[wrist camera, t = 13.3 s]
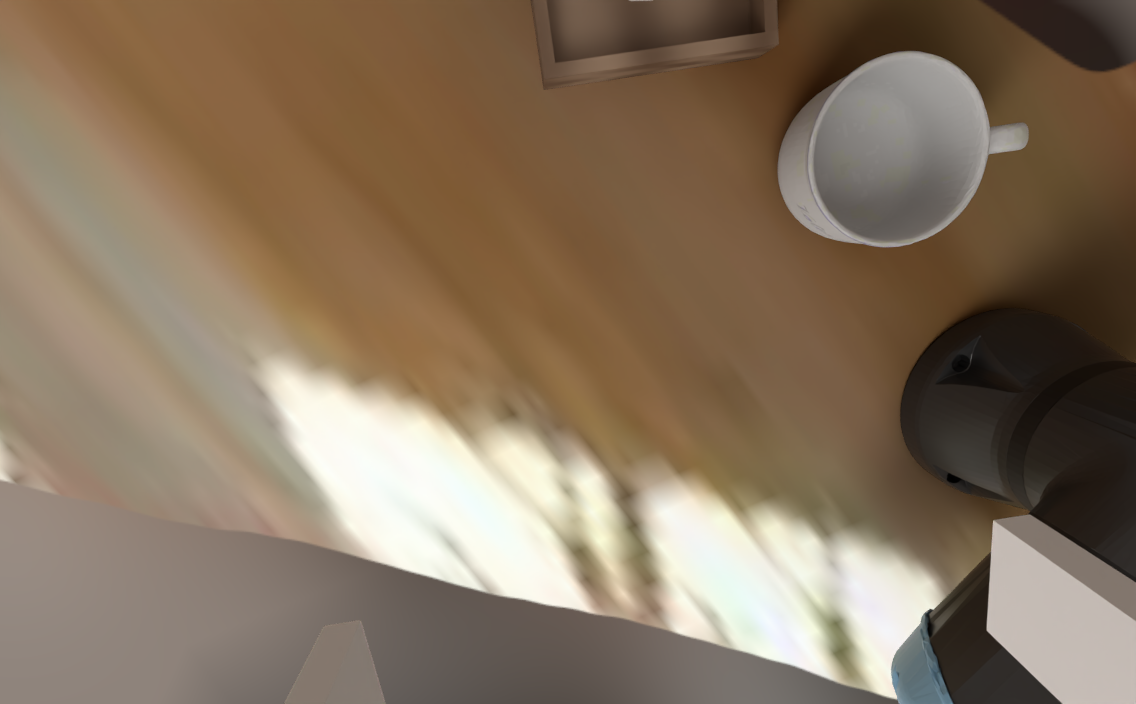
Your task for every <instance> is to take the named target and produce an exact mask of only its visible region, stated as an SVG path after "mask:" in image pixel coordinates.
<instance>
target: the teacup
mask: <svg viewBox="0 0 1136 704" xmlns="http://www.w3.org/2000/svg"><path fill="white" fill-rule="evenodd" d="M1027 141H1028V127H1027V125H1026V124H1025V123H1015V124H1007V125H1001V126H995V127H989V121H988V116H987V112H986V109H985V107H984V102H983V99H982V97H981V94H980V92H979V91H978V89H977V87H976V86H975V84H974V83H973V81H972V80H971V79H970V78H969V77H968V76H967V74H966V73H965V72H964V71H962V70H961V69H960V68H959V67H958V66H956V65H955V64H953V63H952V62H950V61H948V60H946V59H944V58H942V57H940V56H936V55H932V54H929V53H925V52H920V51H900V52H894V53H890V54H886V55H883V56H880V57H878V58H875V59H873V60H870V61H868V62H867V63H865V64H863V65H861V66H859V67H858V68H857V69H855V70H854V71H852V72H851V73H850V74H849V75H847V76H845V77H844V78H842V79H840V80H838V81H837V82H835V83H834V84H832V85H830V86H829V87H827V88H826V89H824V90H823V91H821V92H820V93H819V94H817V95H816V96H815V97H814V98H812V99H811V100H810V101H809V102H808V103H807V104H806V105H805V106H804V107H803V108H802V109H801V110H800V111H799V113H798V114H797V115H796V117H795V118H794V120H793V121H792V123H791V124H790V126H789V128H788V130H787V132H786V134H785V136H784V139H783V141H782V145H781V148H780V152H779V159H778V181H779V186H780V190H781V193H782V196H783V199H784V201H785V203H786V205H787V207H788V208H789V210H790V211H791V213H792V214H793V215H794V217H795V218H796V219H797V220H798V221H799V222H800V223H801V224H803V225H804V226H805V227H807V228H808V229H810V230H811V231H813V232H815V233H817V234H819V235H821V236H824V237H826V238H830V239H834V240H838V241H843V242H851V243H860V244H866V245H870V246H876V247H897V246H904V245H909V244H912V243H914V242H918V241H921V240H923V239H926V238H928V237H929V236H932V235H934V234H936V233H937V232H939V231H940V230H942V229H944V228H945V227H946V226H947V225H949V224H950V223H951V222H952V221H953V220H954V219H955V218H956V217H957V216H958V215H959V214H960V213H961V212H962V211H963V210H964V209H965V207H966V206H967V205H968V204H969V202H970V200H971V199H972V197H973V196H974V194H975V192H976V190H977V188H978V186H979V184H980V181H981V179H982V176H983V173H984V170H985V167H986V162H987V158H988V154H993V153H1000V152H1006V151H1014V150H1020V149H1022V148H1024V147H1025V146H1026V144H1027Z"/></svg>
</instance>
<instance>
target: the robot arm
mask: <svg viewBox="0 0 1136 704" xmlns="http://www.w3.org/2000/svg"><path fill="white" fill-rule="evenodd" d="M900 415H901V428H902V433H903V437H904V440H905V443H906V445H907V447H908V449H909V451H910V453H911V454H912V456H913V457H914V459H915V460H916V461H917V462H918V463H919V464H920V465H921V466H922V467H923V468H924V469H925V470H927V471H928V472H929V473H931V474H932V475H934V476H935V477H937V478H938V479H939V480H941V481H942V482H944V483H945V484H947V485H949V486H950V487H952V488H954V489H957V490H959V491H961V492H964V493H967V494H970V495H974V496H978V497H981V498H985V499H989V500H993V501H997V502H1000V503H1004V504H1008V505H1012V506H1016V507H1019V508H1023V509H1027V510H1029V511H1030V513H1029V514H1028V515H1023V516H1017V517H1010V518H1004V519H998V520H993V533H992V549H991V552H990V553H989V554H988V555H987V556H986V557H985V558H984V559H983V560H982V561H981V562H980V563H979V564H978V565H977V566H976V567H975V568H974V569H973V570H972V571H971V572H970V573H969V574H968V575H967V576H966V577H965V578H964V579H963V580H962V581H961V582H960V583H959V584H958V586H957V587H956V588H955V589H954V590H953V591H952V592H951V593H950V594H949V595H948V596H947V597H946V598H945V599H944V600H943V601H942V602H941V603H940V604H939V605H938V606H937V607H936V608H935V609H934V610H932V609H929V610H928V611H927V612H925V614H924V615H923V616H922V619H921V623H920V625H919V626H918V627H917V628H916V629H915V630H914V632H913V633H912V634H911V635H910V636H909V638H908V639H907V640H906V641H905V642H904V643H903V645H902V646H901V647H900V648H899V649H898V650H897V652H896V654H895V656H894V658H893V662H892V667H891V675H892V683H893V686H894V689H895V692H896V695H897V700H898V702H899V704H1136V363H1133V362H1130V361H1129V360H1127V359H1126V358H1124V357H1123V356H1122V355H1120V354H1119V353H1117V352H1116V351H1114V350H1113V349H1111V348H1110V347H1108V346H1107V345H1105V344H1104V343H1102V342H1101V341H1099V340H1098V339H1096V338H1095V337H1093V336H1091V335H1090V334H1089V333H1087V332H1086V331H1085V330H1084V329H1083V328H1081V327H1079V326H1078V325H1076V324H1074V323H1072V322H1070V321H1068V320H1066V319H1063V318H1060V317H1057V316H1054V315H1050V314H1045V313H1041V312H1037V311H1032V310H1027V309H1019V308H1006V309H997V310H992V311H988V312H984V313H981V314H978V315H976V316H973V317H971V318H968V319H966V320H964V321H962V322H961V323H959V324H957V325H956V326H954V327H952V328H951V329H949V330H948V331H947V332H945V333H944V334H943V335H942V336H941V337H939V338H938V339H937V340H936V341H935V342H934V343H933V344H932V345H931V346H930V347H929V348H928V349H927V350H926V352H925V353H924V354H923V355H922V357H921V358H920V360H919V361H918V363H917V364H916V366H915V367H914V369H913V371H912V373H911V375H910V377H909V379H908V382H907V384H906V387H905V390H904V394H903V398H902V403H901V414H900ZM284 704H386V703H385V700H384V697H383V693H382V690H381V687H380V683H379V680H378V676H377V673H376V670H375V666H374V663H373V659H372V656H371V653H370V649H369V646H368V642H367V639H366V636H365V632H364V629H363V626H362V622H361V620H359V621H352V622H345V623H340V624H333V625H326V626H324V627H323V628H322V630H321V632H320V634H319V636H318V638H317V640H316V642H315V644H314V646H313V648H312V650H311V652H310V654H309V656H308V658H307V660H306V662H305V664H304V666H303V668H302V670H301V671H300V673H299V675H298V678H297V679H296V682H295V683H294V685H293V687H292V689H291V691H290V693H289V695H288V697H287V699H286V701H285V703H284Z"/></svg>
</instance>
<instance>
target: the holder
mask: <svg viewBox="0 0 1136 704" xmlns="http://www.w3.org/2000/svg"><path fill="white" fill-rule="evenodd" d="M531 5H532V12H533V19H534V26H535V33H536V40H537V47H538V54H539V60H540V67H541V74H542V81H543V88H544V90H546V89H553V88H559V87H566V86H573V85H580V84H586V83H593V82H600V81H607V80H613V79H620V78H627V77H634V76H640V75H647V74H654V73H661V72H667V71H674V70H681V69H687V68H694V67H701V66H708V65H714V64H721V63H728V62H735V61H741V60H748V59H755V58H758V57H760V56H761V55H763V54H765V53H766V52H768V51H769V50H771V49H772V48H774V47H776V46H777V45H779V39H778V13H777V0H652V1H629V0H531Z"/></svg>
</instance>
